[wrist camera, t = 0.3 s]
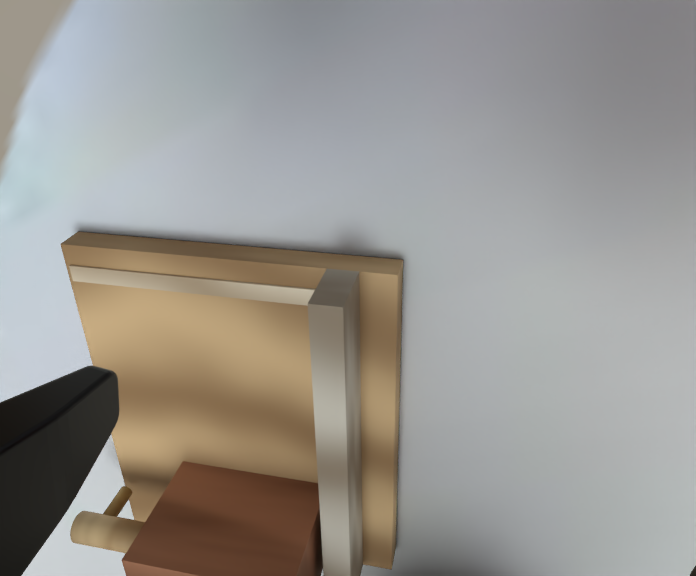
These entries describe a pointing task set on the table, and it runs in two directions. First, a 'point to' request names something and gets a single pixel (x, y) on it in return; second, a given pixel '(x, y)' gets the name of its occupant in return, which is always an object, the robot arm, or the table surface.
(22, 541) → the robot arm
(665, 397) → the table surface
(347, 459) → the board
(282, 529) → the brown block with peg
